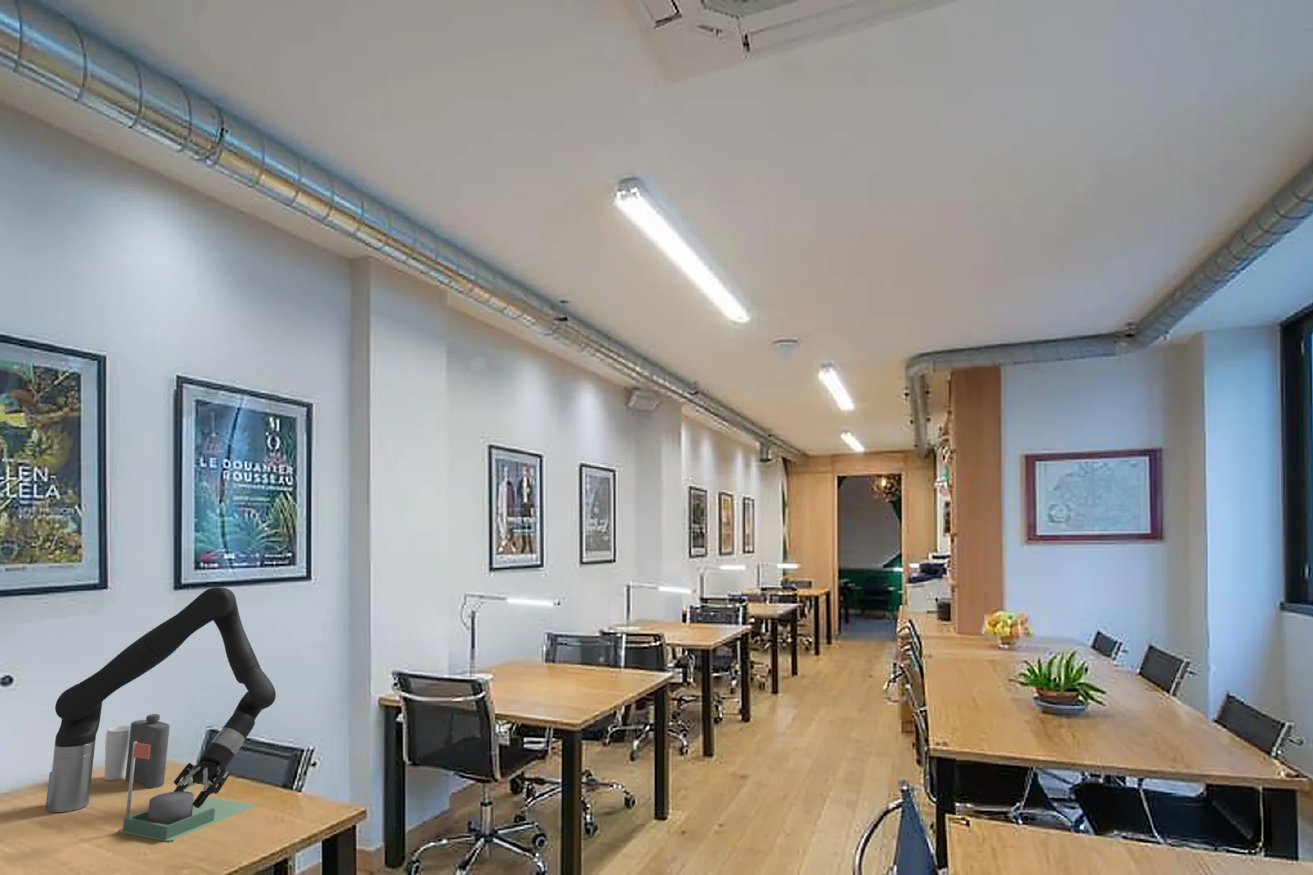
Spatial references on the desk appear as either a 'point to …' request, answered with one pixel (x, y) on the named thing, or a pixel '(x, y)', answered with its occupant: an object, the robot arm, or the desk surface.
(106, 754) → the drinking glass
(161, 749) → the flask
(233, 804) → the mini golf green
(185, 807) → the grey domed cylinder
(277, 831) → the desk surface
